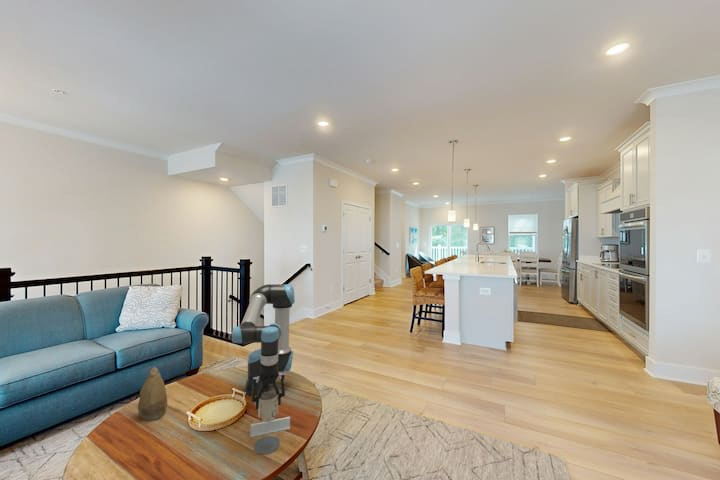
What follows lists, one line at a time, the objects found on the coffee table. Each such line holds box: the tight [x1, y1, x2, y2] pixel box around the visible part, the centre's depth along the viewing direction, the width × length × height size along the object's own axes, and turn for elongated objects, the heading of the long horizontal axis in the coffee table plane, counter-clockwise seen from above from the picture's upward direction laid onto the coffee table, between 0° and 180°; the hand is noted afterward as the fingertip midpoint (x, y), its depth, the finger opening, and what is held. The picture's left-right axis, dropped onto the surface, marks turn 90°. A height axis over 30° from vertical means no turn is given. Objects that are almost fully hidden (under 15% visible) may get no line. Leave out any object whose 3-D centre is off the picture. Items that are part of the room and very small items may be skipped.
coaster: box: [253, 435, 281, 456], centre depth 127 cm, size 11×11×1 cm
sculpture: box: [137, 366, 168, 421], centre depth 145 cm, size 12×11×25 cm
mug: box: [254, 390, 278, 422], centre depth 127 cm, size 8×13×10 cm, turn 67°
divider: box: [250, 416, 291, 439], centre depth 136 cm, size 3×18×5 cm, turn 111°
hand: (268, 413), depth 127 cm, fingers closed on mug, 7 cm apart
